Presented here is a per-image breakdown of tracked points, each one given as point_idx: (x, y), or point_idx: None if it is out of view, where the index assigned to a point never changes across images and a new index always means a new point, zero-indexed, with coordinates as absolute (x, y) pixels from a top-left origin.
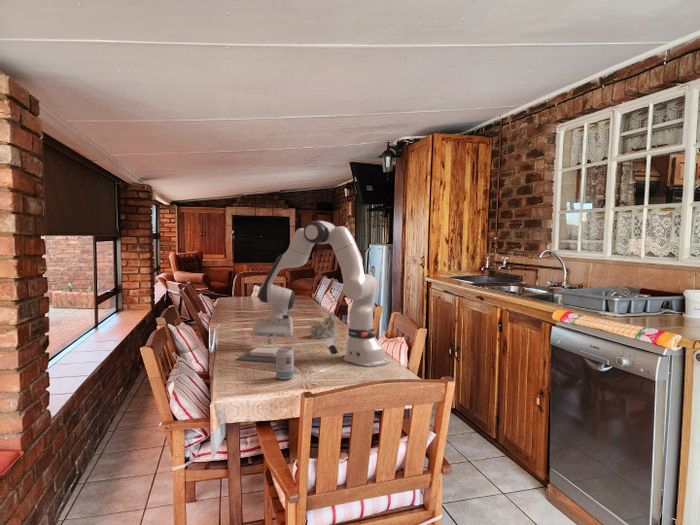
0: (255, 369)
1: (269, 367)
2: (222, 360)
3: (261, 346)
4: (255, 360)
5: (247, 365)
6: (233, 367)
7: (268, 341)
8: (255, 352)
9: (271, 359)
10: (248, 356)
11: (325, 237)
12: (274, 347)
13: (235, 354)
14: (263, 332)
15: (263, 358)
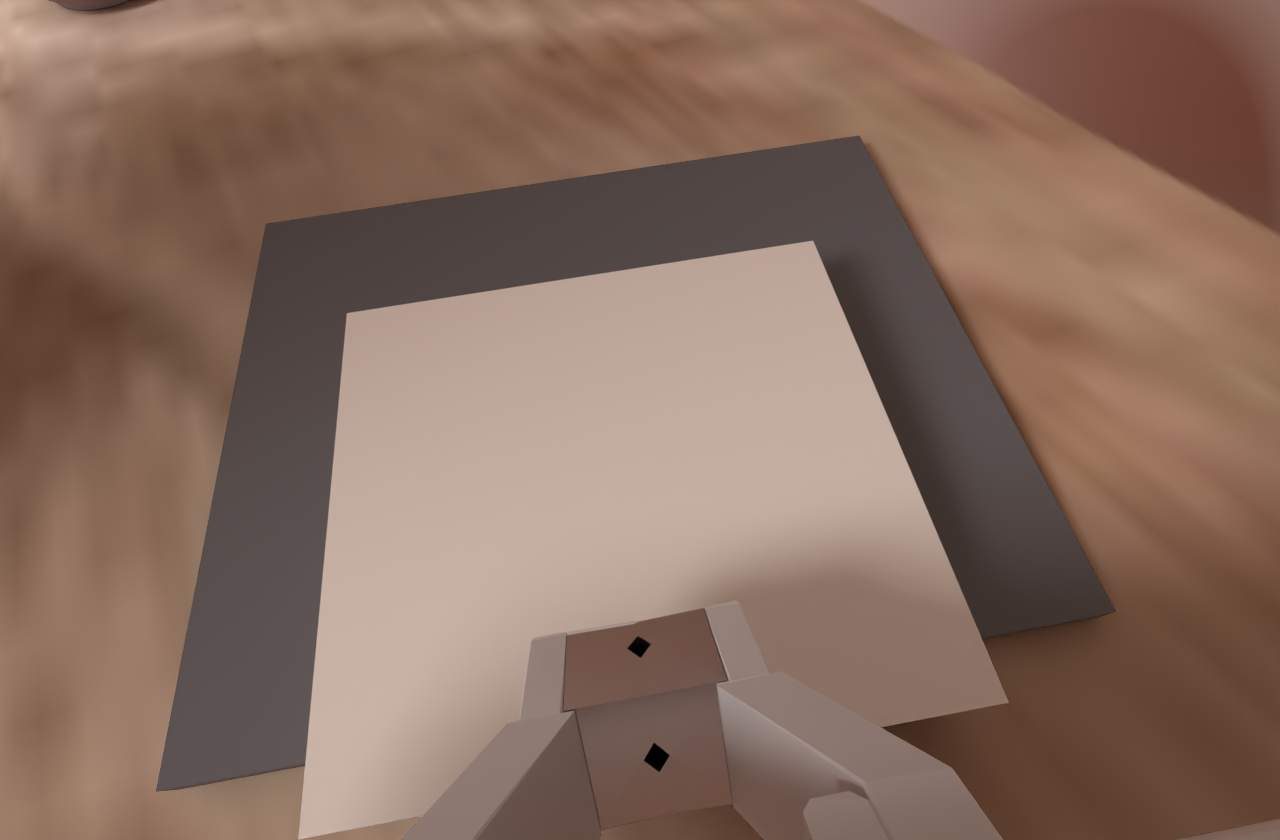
0: (447, 35)
1: (327, 107)
2: (1004, 107)
3: (921, 700)
4: (583, 177)
5: (595, 82)
6: (690, 11)
7: (658, 620)
8: (703, 260)
9: (382, 268)
10: None
11: None
12: None
13: (1141, 351)
14: (1278, 822)
15: (520, 266)
